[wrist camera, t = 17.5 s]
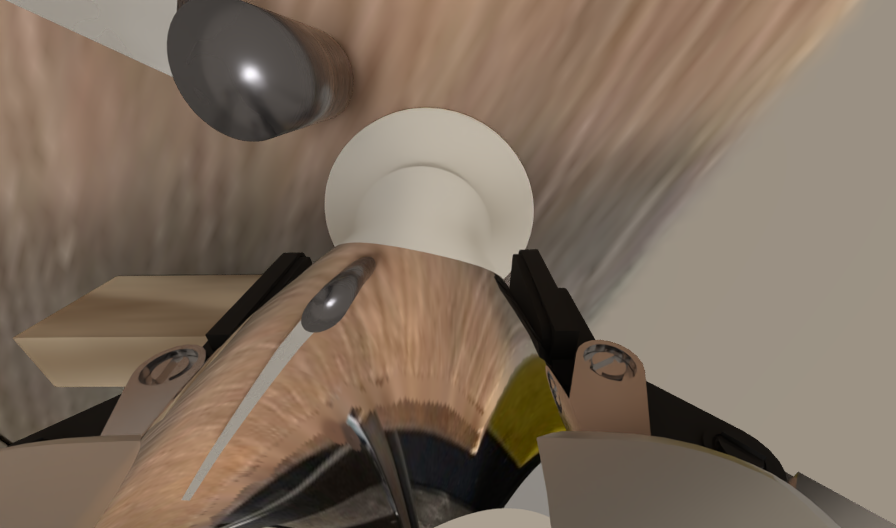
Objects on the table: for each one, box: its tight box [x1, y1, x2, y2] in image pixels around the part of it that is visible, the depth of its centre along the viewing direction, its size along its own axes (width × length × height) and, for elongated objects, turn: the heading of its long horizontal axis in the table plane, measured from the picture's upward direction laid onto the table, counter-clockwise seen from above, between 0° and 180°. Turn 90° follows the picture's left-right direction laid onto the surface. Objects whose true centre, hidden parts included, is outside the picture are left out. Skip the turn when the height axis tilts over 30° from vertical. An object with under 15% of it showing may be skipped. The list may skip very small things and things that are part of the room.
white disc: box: [325, 107, 534, 279], centre depth 16 cm, size 10×10×1 cm
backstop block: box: [13, 275, 262, 387], centre depth 17 cm, size 3×9×5 cm, turn 91°
